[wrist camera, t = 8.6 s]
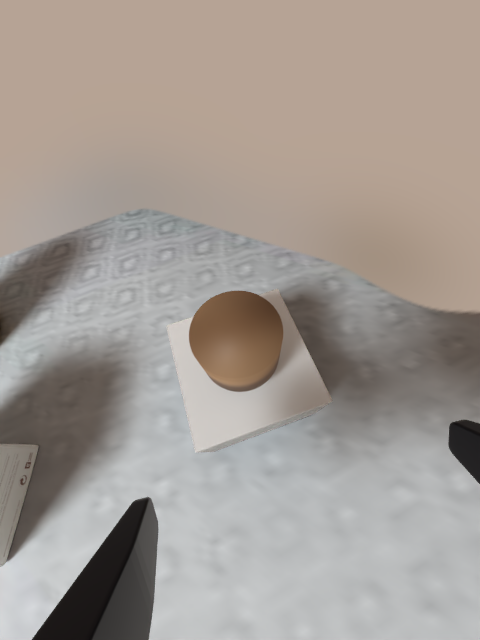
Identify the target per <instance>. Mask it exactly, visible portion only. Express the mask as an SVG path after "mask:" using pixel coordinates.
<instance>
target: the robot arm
mask: <svg viewBox="0 0 480 640" xmlns="http://www.w3.org/2000/svg"><path fill="white" fill-rule="evenodd" d="M449 448H450V451H451V452H452V454H453V455H454V456H455V457H456V458H457V459H458V460H459V462H460V463H461V464H462V465H463V466H464V467H465V468H466V469H467V471H468V472H469V473H470V474H471V475H472V476H473V477H474V478H475V479H476V481H477V482H478V483H479V484H480V424H479V423H475V422H472V421H469V420H459V421H455V422H452V423H451V424H450V426H449ZM157 542H158V520H157V517H156V513H155V510H154V506H153V503H152V500H151V498H149V497H146V498H142V499H138V500H135V501H134V502H133V503H132V504H131V505H130V507H129V508H128V509H127V511H126V512H125V514H124V515H123V516H122V518H121V519H120V520H119V522H118V523H117V524H116V526H115V527H114V529H113V530H112V531H111V533H110V534H109V535H108V537H107V538H106V539H105V541H104V542H103V543H102V545H101V546H100V548H99V549H98V550H97V552H96V553H95V554H94V556H93V557H92V558H91V560H90V561H89V563H88V564H87V565H86V567H85V568H84V569H83V571H82V572H81V573H80V575H79V576H78V577H77V579H76V580H75V582H74V583H73V584H72V586H71V587H70V588H69V590H68V591H67V592H66V594H65V595H64V597H63V598H62V599H61V601H60V602H59V603H58V605H57V606H56V607H55V609H54V610H53V611H52V613H51V614H50V616H49V617H48V618H47V620H46V621H45V622H44V624H43V625H42V626H41V628H40V629H39V631H38V632H37V633H36V635H35V636H34V637H33V639H32V640H149V633H150V626H151V619H152V612H153V603H154V590H155V574H156V558H157Z"/></svg>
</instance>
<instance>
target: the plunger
mask: <svg viewBox="0 0 480 640" xmlns="http://www.w3.org/2000/svg"><path fill="white" fill-rule="evenodd" d="M282 341H283V324H282V320H281V318H280V315H279V314H278V312H277V310H276V309H275V308H274V306H273V305H272V304H271V303H270V302H268V301H267V300H266V299H264V298H263V297H261V296H259V295H257V294H254V293H251V292H246V291H230V292H225V293H221V294H219V295H216V296H214V297H213V298H211V299H209V300H208V301H206V302H205V303H204V304H203V305H202V306H201V307H200V308H199V309H198V311H197V312H196V313H195V315H194V317H193V319H192V322H191V324H190V329H189V343H190V347H191V350H192V353H193V355H194V357H195V358H196V360H197V361H198V362H199V364H200V365H201V366H202V368H203V369H204V371H205V372H206V373H207V375H208V376H209V378H210V379H211V380H212V381H213V382H214V383H215V384H217V385H218V386H220V387H222V388H224V389H226V390H229V391H234V392H245V391H250V390H254V389H256V388H258V387H260V386H262V385H263V384H264V383H266V382H267V381H268V380H269V379H270V378H271V377H272V375H273V374H274V372H275V370H276V368H277V365H278V362H279V357H280V352H281V346H282Z"/></svg>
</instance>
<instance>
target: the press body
mask: <svg viewBox="0 0 480 640" xmlns="http://www.w3.org/2000/svg"><path fill="white" fill-rule="evenodd" d="M259 296H261V297H263V298H264V299H266V300H267V301H268V302H270V303H271V304H272V305H273V306H274V308H275V309H276V310H277V312H278V314H279V315H280V318H281V320H282V324H283V341H282V346H281V352H280V357H279V362H278V365H277V368H276V370H275V372H274V374H273V375H272V377H271V378H270V379H269V380H268V381H267V382H266V383H264V384H263V385H262V386H260V387H258V388H256V389H254V390H250V391H245V392H234V391H229V390H226V389H224V388H222V387H220V386H218V385H217V384H215V383H214V382H213V381H212V380H211V379H210V378H209V376H208V375H207V373H206V372H205V371H204V369H203V368H202V366H201V365H200V364H199V362H198V361H197V360H196V358H195V357H194V355H193V353H192V350H191V347H190V343H189V329H190V324H191V322H192V319H193V317H191V318H188V319H185V320H182V321H179V322H176V323H173V324H170V325H167V326H166V327H167V331H168V336H169V340H170V344H171V349H172V353H173V357H174V362H175V366H176V370H177V375H178V379H179V383H180V388H181V392H182V396H183V401H184V405H185V409H186V414H187V418H188V422H189V427H190V431H191V435H192V440H193V444H194V448H195V453H196V452H215V451H217V450H220V449H223V448H225V447H228V446H231V445H233V444H236V443H239V442H241V441H244V440H247V439H249V438H252V437H255V436H257V435H260V434H262V433H265V432H268V431H270V430H273V429H276V428H278V427H281V426H284V425H286V424H289V423H292V422H294V421H297V420H300V419H302V418H305V417H308V416H310V415H313V414H315V413H316V412H318V411H319V410H320V409H322V408H323V407H325V406H326V405H328V404H329V403H331V402H332V398H331V396H330V394H329V392H328V390H327V388H326V386H325V384H324V382H323V380H322V378H321V376H320V374H319V372H318V370H317V368H316V366H315V364H314V362H313V360H312V358H311V356H310V354H309V352H308V350H307V347H306V345H305V343H304V341H303V339H302V337H301V335H300V333H299V331H298V329H297V327H296V325H295V323H294V321H293V319H292V317H291V315H290V313H289V311H288V309H287V307H286V305H285V303H284V301H283V299H282V297H281V294H280V292H279V290H278V289H275V290H272V291H269V292H266V293H263V294H260V295H259Z"/></svg>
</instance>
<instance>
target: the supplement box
mask: <svg viewBox="0 0 480 640" xmlns="http://www.w3.org/2000/svg"><path fill="white" fill-rule="evenodd" d="M38 448H39V446H38V445H32V444H0V566H3V565H4V564H5V563H6V560H7V557H8V555H9V551H10V548H11V545H12V541H13V538H14V534H15V530H16V527H17V524H18V520H19V517H20V513H21V509H22V506H23V503H24V499H25V496H26V492H27V488H28V485H29V482H30V478H31V475H32V471H33V467H34V463H35V460H36V456H37V452H38Z"/></svg>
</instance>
